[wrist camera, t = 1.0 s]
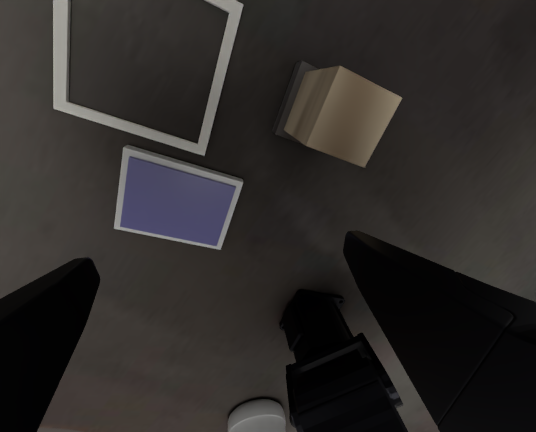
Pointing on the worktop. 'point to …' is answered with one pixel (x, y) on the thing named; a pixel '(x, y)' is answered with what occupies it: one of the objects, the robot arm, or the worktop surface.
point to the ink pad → (174, 199)
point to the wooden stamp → (335, 112)
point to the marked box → (61, 102)
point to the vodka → (257, 417)
